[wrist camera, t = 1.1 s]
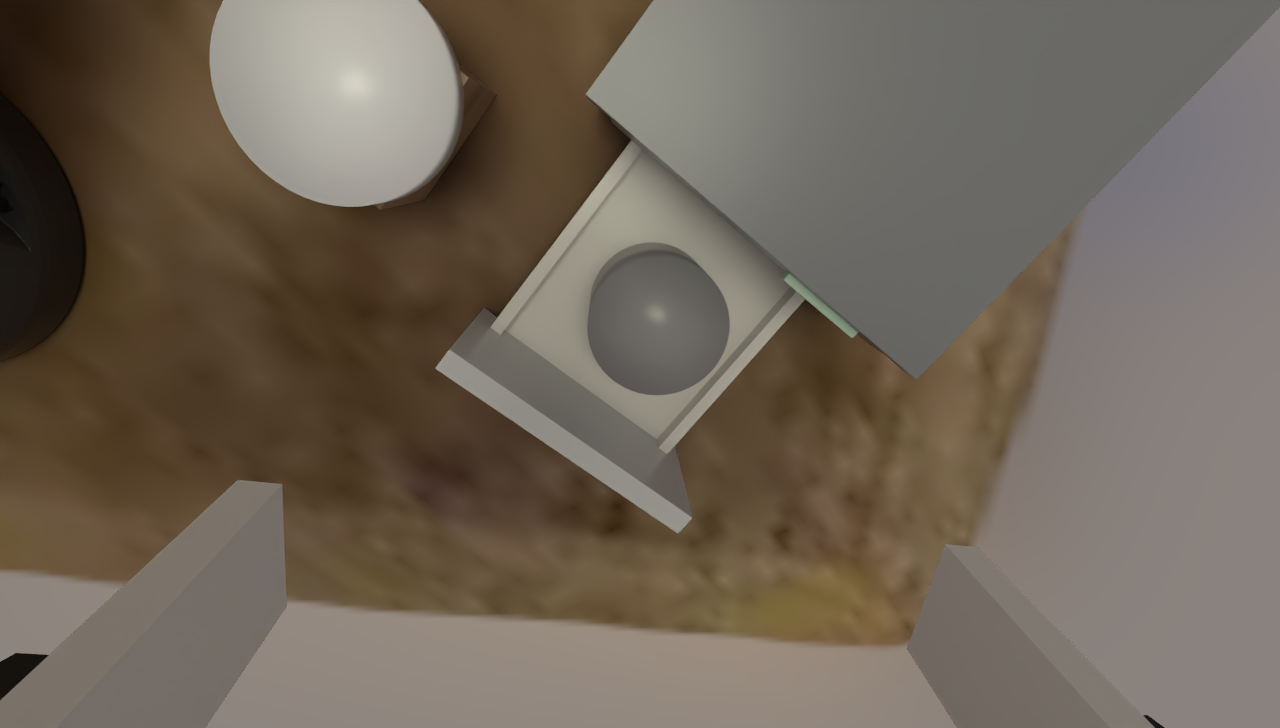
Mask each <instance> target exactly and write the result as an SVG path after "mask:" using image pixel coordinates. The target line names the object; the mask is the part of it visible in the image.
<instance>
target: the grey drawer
mask: <svg viewBox="0 0 1280 728" xmlns="http://www.w3.org/2000/svg"><path fill="white" fill-rule="evenodd" d="M783 272H784V271H783V270H782V269H781V268H780V267H779V266H778V265H776V264H775V263H774V262H773V261H772V260H771V259H769V258H768V257H767V256H766V255H765V254H764V253H762V252H761V251H760V250H759V249H758V248H757V247H755V246H754V245H753V244H752V243H751V242H750V241H749V240H747V239H746V238H745V237H744V236H743V235H742V234H740V233H739V232H738V231H737V230H736V229H735V228H733V227H732V226H731V225H730V224H729V223H728V222H726V221H725V220H724V219H723V218H722V217H721V216H719V215H718V214H717V213H716V212H715V211H714V210H712V209H711V208H710V207H709V206H708V205H707V204H706V203H704V202H703V201H702V200H701V199H700V198H699V197H697V196H696V195H695V194H694V193H693V192H692V191H690V190H689V189H688V188H687V187H686V186H685V185H683V184H682V183H681V182H680V181H679V180H678V179H676V178H675V177H674V176H673V175H672V174H671V173H669V172H668V171H667V170H666V169H665V168H664V167H662V166H661V165H660V164H659V163H658V162H657V161H656V160H654V159H653V158H652V157H651V156H650V155H649V154H647V153H646V152H645V151H644V150H643V149H642V148H640V147H639V146H638V145H637V144H636V143H635V142H633V141H632V140H631V141H630V142H629V144H628V145H627V146H626V148H625V149H624V150H623V152H622V153H621V154H620V156H619V157H618V158H617V160H616V161H615V162H614V163H613V165H612V166H611V167H610V169H609V170H608V171H607V173H606V174H605V175H604V177H603V178H602V179H601V181H600V182H599V183H598V185H597V186H596V187H595V189H594V190H593V191H592V193H591V194H590V195H589V197H588V198H587V199H586V201H585V202H584V203H583V205H582V206H581V207H580V208H579V210H578V211H577V212H576V214H575V215H574V216H573V218H572V219H571V220H570V222H569V223H568V224H567V226H566V227H565V228H564V230H563V231H562V232H561V234H560V235H559V236H558V238H557V239H556V240H555V242H554V243H553V244H552V246H551V247H550V248H549V250H548V251H547V252H546V253H545V255H544V256H543V257H542V259H541V260H540V261H539V263H538V264H537V265H536V267H535V268H534V269H533V271H532V272H531V273H530V275H529V276H528V277H527V279H526V280H525V281H524V283H523V284H522V285H521V287H520V288H519V289H518V291H517V292H516V293H515V295H514V296H513V297H512V298H511V300H510V301H509V302H508V304H507V305H506V306H505V308H504V309H503V310H502V312H501V313H500V314H499V316H498V317H496V316H495V315H494V314H492V313H491V312H489V311H488V310H487V309H485V308H483V310H482V311H481V312H480V313H479V314H478V316H477V317H476V318H475V319H474V320H473V322H472V323H471V324H470V325H469V326H468V328H467V329H466V330H465V331H464V332H463V334H462V335H461V336H460V337H459V338H458V340H457V341H456V342H455V343H454V344H453V346H452V347H451V348H450V349H449V350H448V352H447V353H446V354H445V356H444V357H443V359H442V360H441V361H440V363H439V364H438V365H437V367H436V368H435V369H437V370H438V371H440V372H441V373H442V374H444V375H445V376H447V377H448V378H450V379H451V380H453V381H454V382H456V383H457V384H459V385H460V386H462V387H463V388H465V389H466V390H468V391H469V392H470V393H472V394H473V395H475V396H476V397H478V398H479V399H481V400H482V401H484V402H485V403H487V404H488V405H490V406H491V407H493V408H494V409H495V410H497V411H498V412H500V413H501V414H503V415H504V416H506V417H507V418H509V419H510V420H512V421H513V422H515V423H516V424H518V425H519V426H520V427H522V428H523V429H525V430H526V431H528V432H529V433H531V434H532V435H534V436H535V437H537V438H538V439H540V440H541V441H543V442H544V443H545V444H547V445H548V446H550V447H551V448H553V449H554V450H556V451H557V452H559V453H560V454H562V455H563V456H565V457H566V458H568V459H569V460H571V461H572V462H573V463H575V464H576V465H578V466H579V467H581V468H582V469H584V470H585V471H587V472H588V473H590V474H591V475H593V476H594V477H596V478H597V479H598V480H600V481H601V482H603V483H604V484H606V485H607V486H609V487H610V488H612V489H613V490H615V491H616V492H618V493H619V494H621V495H622V496H623V497H625V498H626V499H628V500H629V501H631V502H632V503H634V504H635V505H637V506H638V507H640V508H641V509H643V510H644V511H646V512H647V513H648V514H650V515H651V516H653V517H654V518H656V519H657V520H659V521H660V522H662V523H663V524H665V525H666V526H668V527H669V528H671V529H672V530H673V531H675V532H676V533H679V532H680V531H681V530H682V529H683V528H684V527H685V525H686V524H687V523H688V522H689V521H690V520H691V519H692V514H691V510H690V505H689V501H688V497H687V493H686V489H685V485H684V481H683V477H682V472H681V468H680V464H679V460H678V456H677V452H676V448H675V445H676V444H677V443H678V442H679V441H680V439H681V438H682V437H683V436H684V435H685V434H686V433H687V432H688V430H689V429H690V428H691V427H692V426H693V425H694V424H695V423H696V421H697V420H698V419H699V418H700V417H701V416H702V415H703V414H704V412H705V411H706V410H707V409H708V408H709V407H710V406H711V405H712V403H713V402H714V401H715V400H716V399H717V398H718V397H719V396H720V395H721V393H722V392H723V391H724V390H725V389H726V388H727V387H728V386H729V384H730V383H731V382H732V381H733V380H734V379H735V378H736V377H737V375H738V374H739V373H740V372H741V371H742V370H743V369H744V368H745V366H746V365H747V364H748V363H749V362H750V361H751V360H752V359H753V357H754V356H755V355H756V354H757V353H758V352H759V351H760V350H761V348H762V347H763V346H764V345H765V344H766V343H767V342H768V341H769V339H770V338H771V337H772V336H773V335H774V334H775V333H776V332H777V330H778V329H779V328H780V327H781V326H782V325H783V324H784V323H785V321H786V320H787V319H788V318H789V317H790V316H791V315H792V314H793V312H794V311H795V310H796V309H797V308H798V307H799V306H800V305H801V303H802V302H803V301H804V300H805V298H803V297H802V296H801V295H800V294H799V293H798V292H796V291H795V290H794V289H793V288H792V287H791V286H789V285H788V284H787V283H786V282H785V281H784V280H782V279H781V278H780V277H779V276H780V275H781V274H782V273H783Z"/></svg>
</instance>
